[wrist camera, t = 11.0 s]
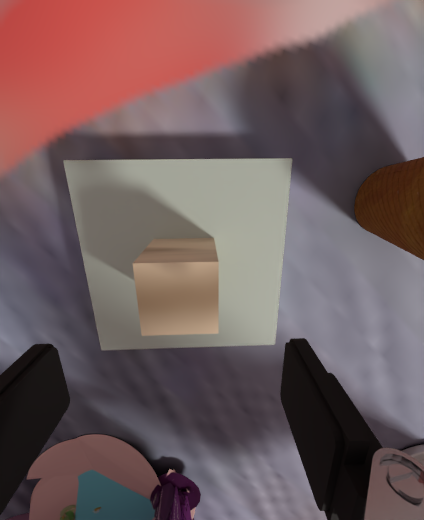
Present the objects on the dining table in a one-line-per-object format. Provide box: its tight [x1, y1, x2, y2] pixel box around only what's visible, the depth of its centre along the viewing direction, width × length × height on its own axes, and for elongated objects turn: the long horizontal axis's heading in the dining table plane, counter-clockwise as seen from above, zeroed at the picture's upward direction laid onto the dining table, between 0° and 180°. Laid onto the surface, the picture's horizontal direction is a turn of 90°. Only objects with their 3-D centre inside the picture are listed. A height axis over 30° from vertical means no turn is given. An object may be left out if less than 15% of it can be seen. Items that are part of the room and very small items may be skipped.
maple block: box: [133, 238, 219, 336], centre depth 17 cm, size 5×5×6 cm
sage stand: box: [63, 158, 292, 350], centre depth 21 cm, size 17×17×3 cm
